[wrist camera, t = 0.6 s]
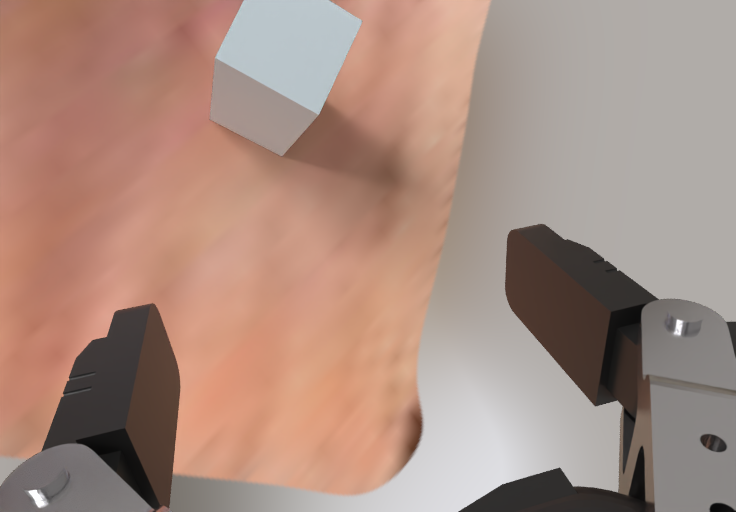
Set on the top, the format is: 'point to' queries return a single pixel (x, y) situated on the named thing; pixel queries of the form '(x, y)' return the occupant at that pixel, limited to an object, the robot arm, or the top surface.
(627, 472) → the robot arm
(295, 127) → the block
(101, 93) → the top surface
